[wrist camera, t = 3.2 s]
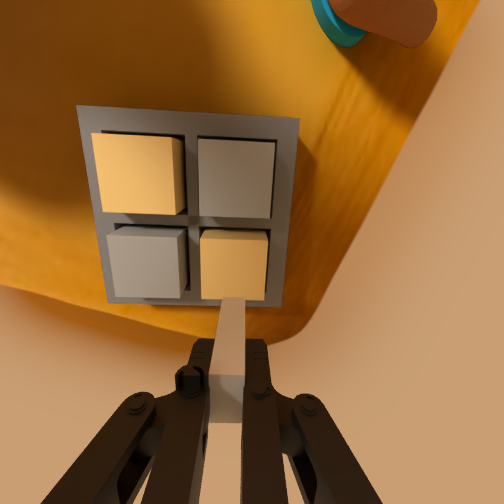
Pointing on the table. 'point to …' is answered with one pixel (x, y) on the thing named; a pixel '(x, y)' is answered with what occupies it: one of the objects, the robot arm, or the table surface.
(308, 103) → the table surface
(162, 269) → the grey button far left
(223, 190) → the grey button near right
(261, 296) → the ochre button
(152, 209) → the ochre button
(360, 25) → the toy
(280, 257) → the button board
